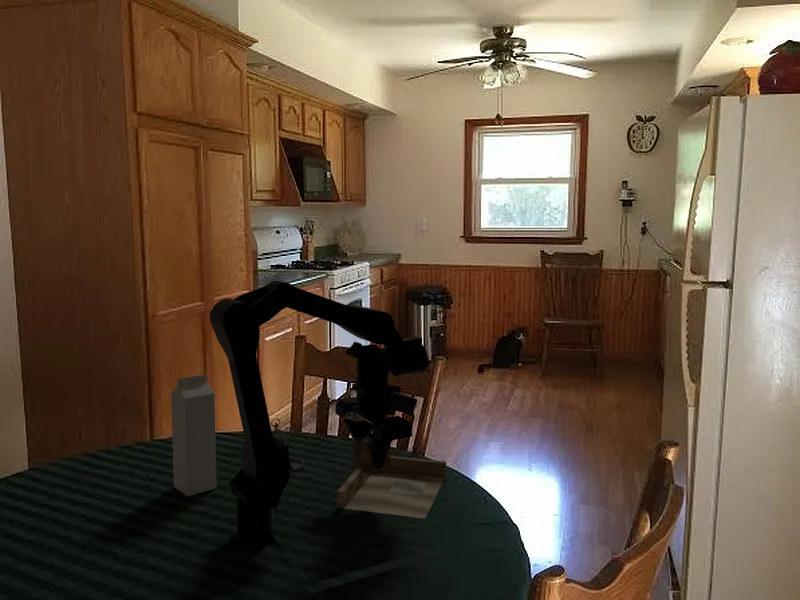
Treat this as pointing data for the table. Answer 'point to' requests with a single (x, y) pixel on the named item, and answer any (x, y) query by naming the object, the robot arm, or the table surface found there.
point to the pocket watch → (283, 437)
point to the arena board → (395, 488)
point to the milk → (193, 435)
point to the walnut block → (367, 456)
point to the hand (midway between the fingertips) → (371, 463)
